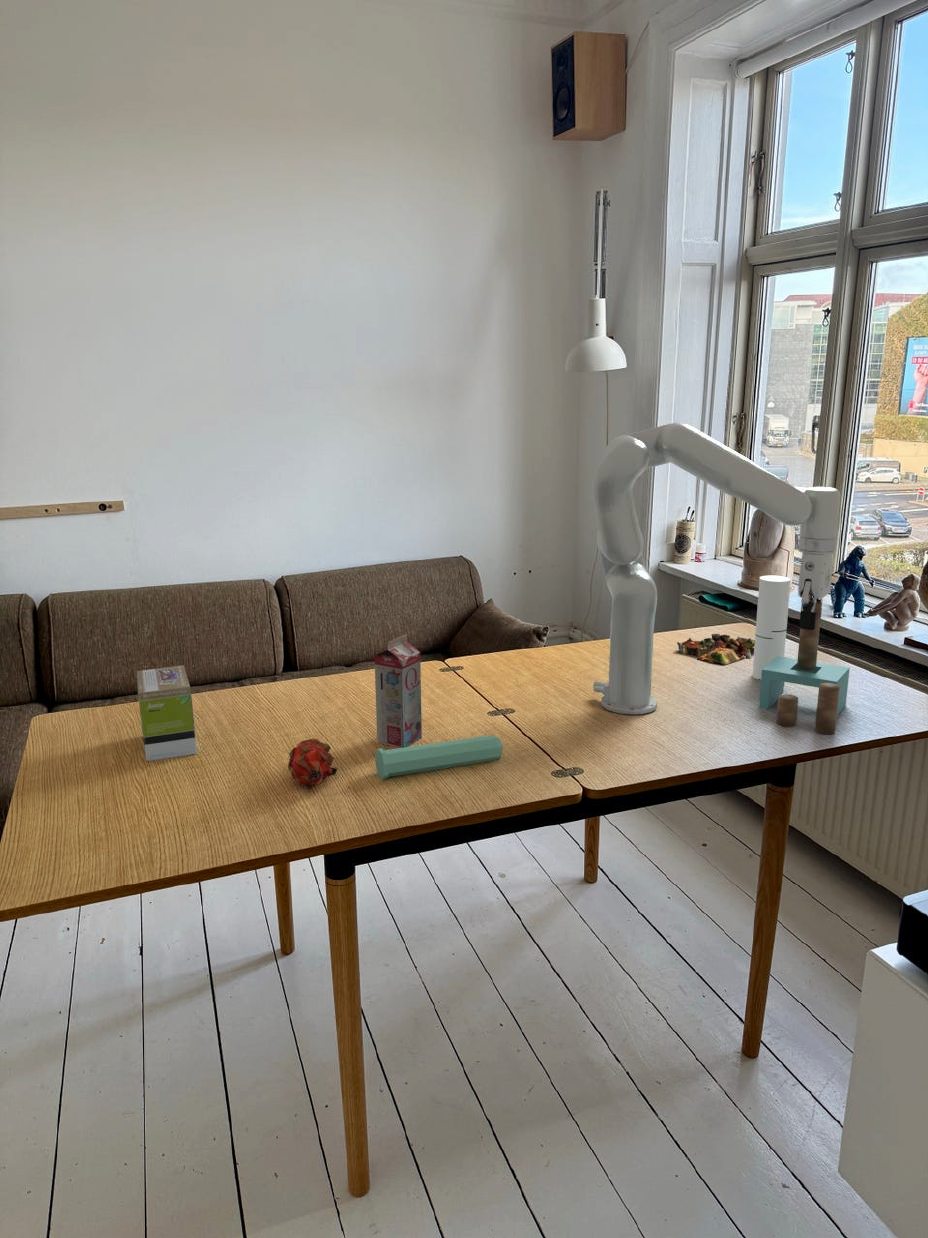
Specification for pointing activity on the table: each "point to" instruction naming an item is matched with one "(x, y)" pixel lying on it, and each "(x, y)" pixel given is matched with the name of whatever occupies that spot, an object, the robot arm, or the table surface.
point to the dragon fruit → (311, 762)
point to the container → (437, 756)
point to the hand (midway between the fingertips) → (809, 625)
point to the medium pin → (827, 708)
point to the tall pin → (809, 644)
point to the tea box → (166, 713)
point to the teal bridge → (800, 679)
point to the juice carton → (398, 694)
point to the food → (718, 648)
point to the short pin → (787, 710)
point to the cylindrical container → (770, 621)
